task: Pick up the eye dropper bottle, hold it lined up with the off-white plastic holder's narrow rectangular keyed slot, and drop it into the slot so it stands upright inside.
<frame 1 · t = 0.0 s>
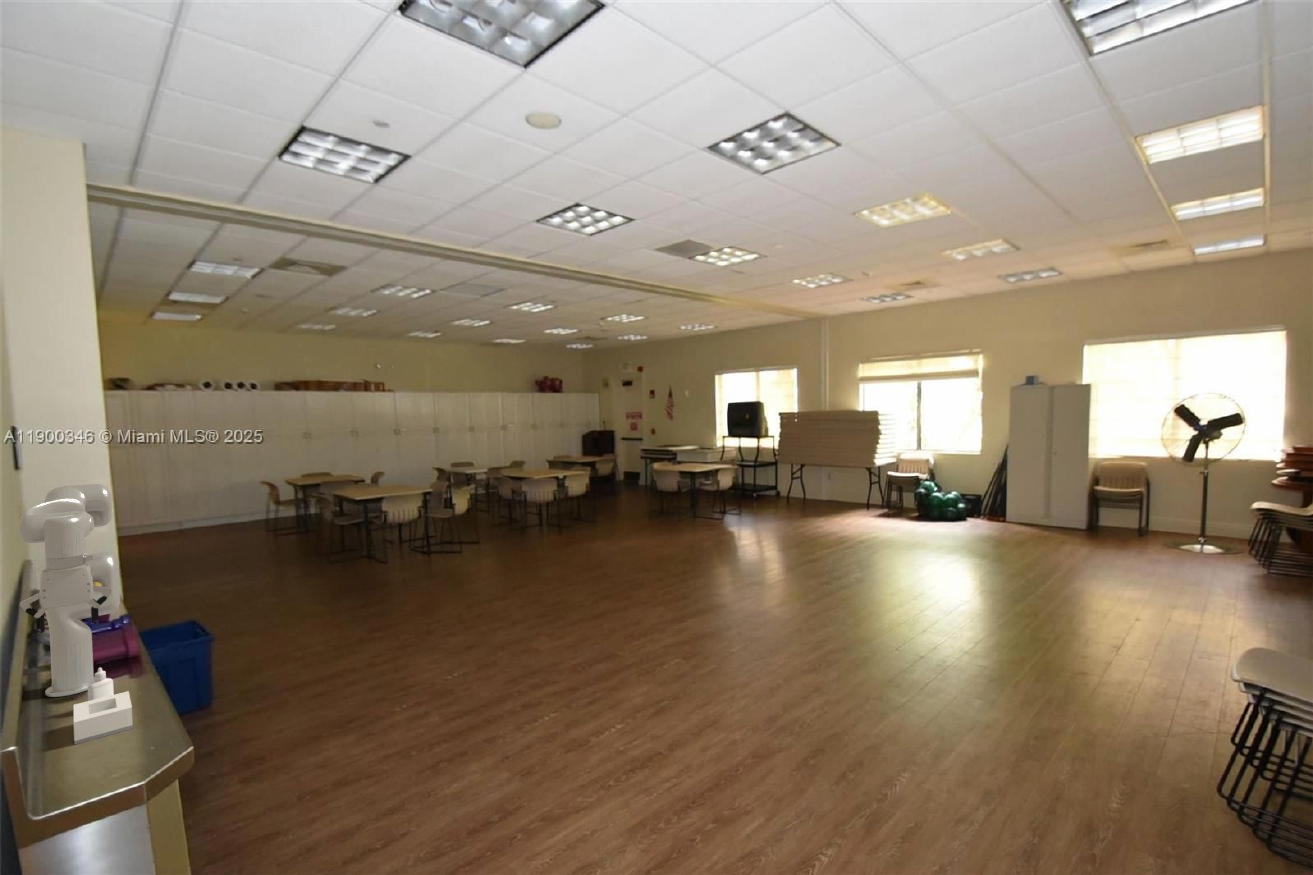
hand: (68, 626, 158), 31 cm above the counter, tool pointing down, fingers open, 9 cm apart
eye dropper bottle: (101, 708, 178), on the counter
keyed holder: (103, 727, 167), on the counter
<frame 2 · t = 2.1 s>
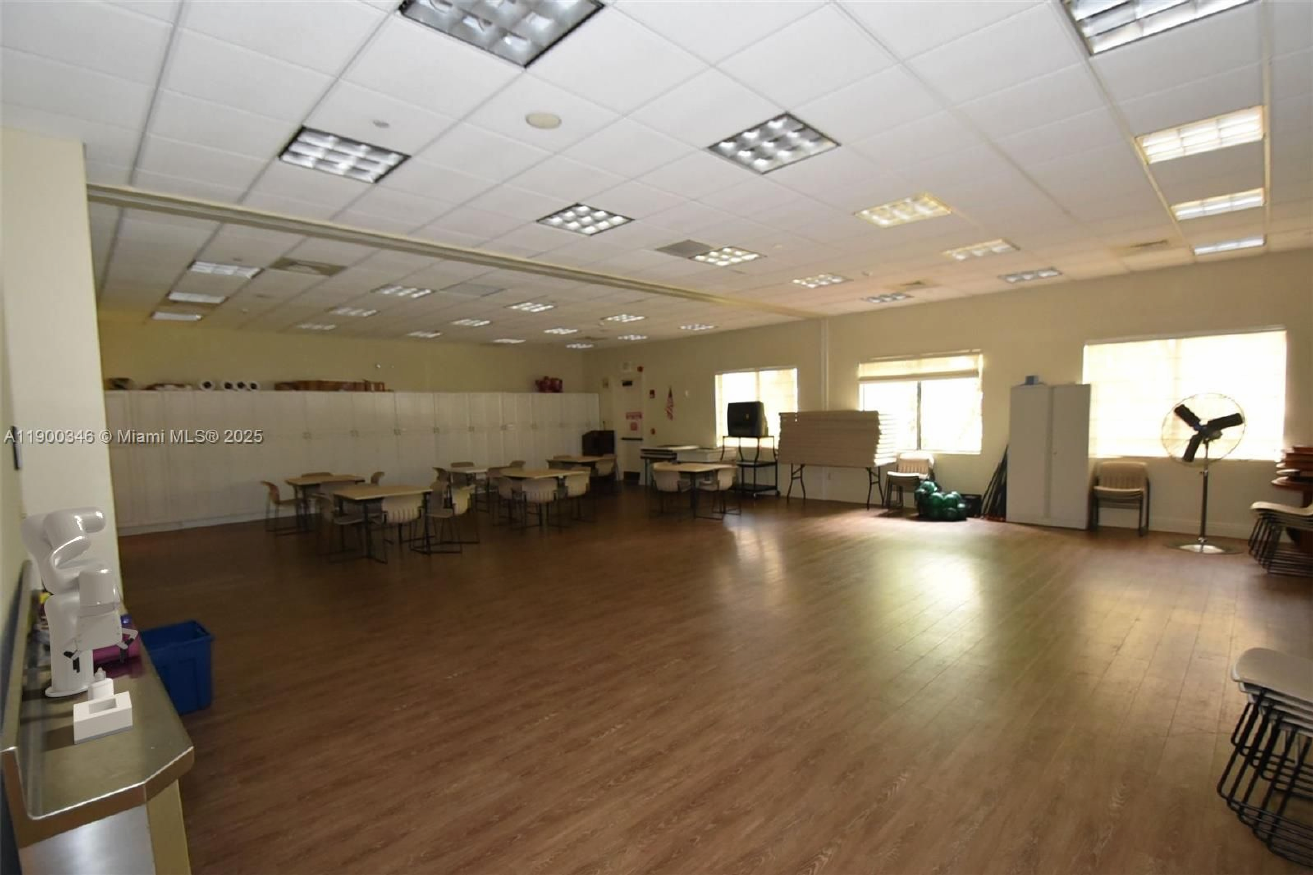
hand: (100, 666, 178), 13 cm above the counter, tool pointing down, fingers open, 9 cm apart
nothing on the counter moved.
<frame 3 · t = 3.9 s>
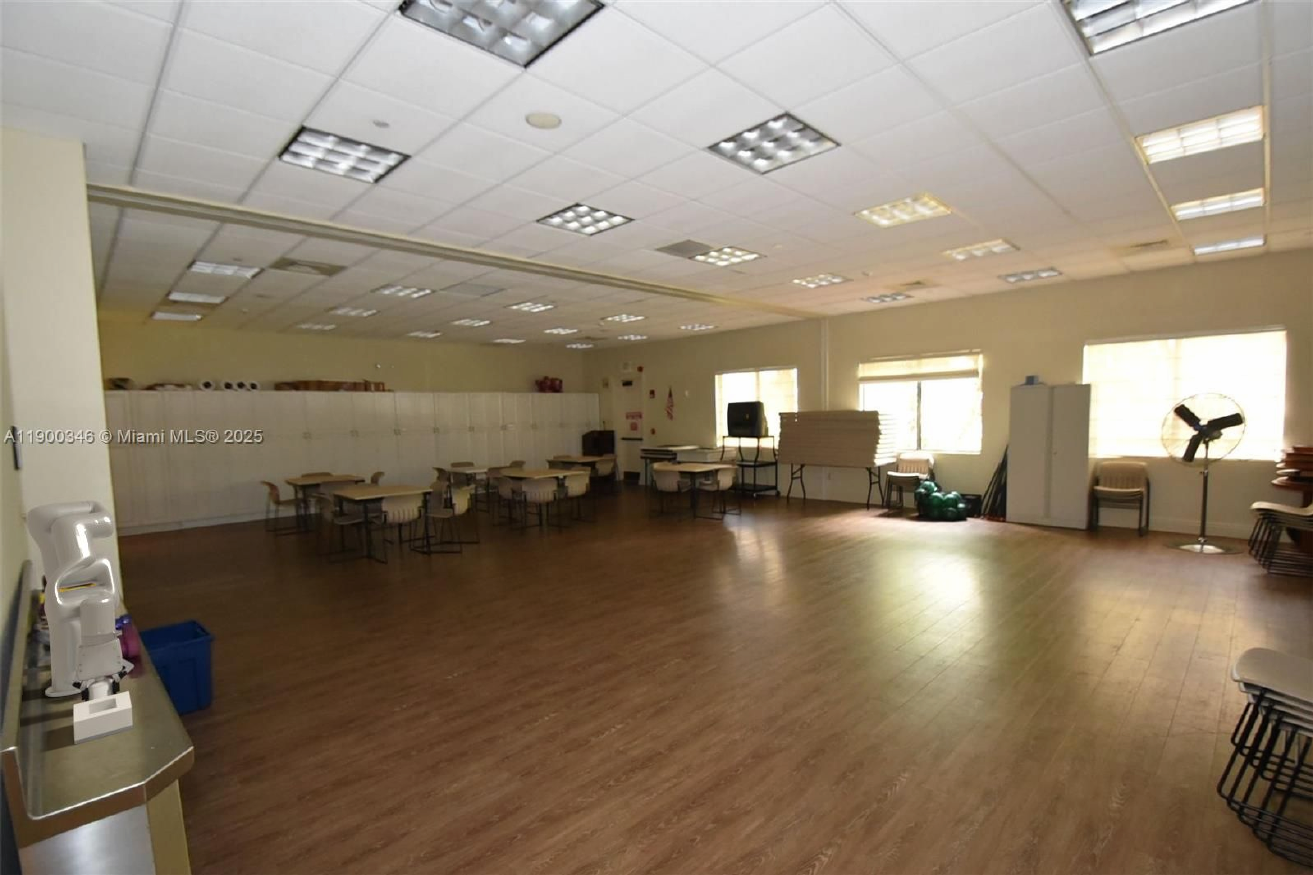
hand: (101, 697, 178), 3 cm above the counter, tool pointing down, fingers closed on eye dropper bottle, 5 cm apart
eye dropper bottle: (101, 708, 178), on the counter, touching gripper
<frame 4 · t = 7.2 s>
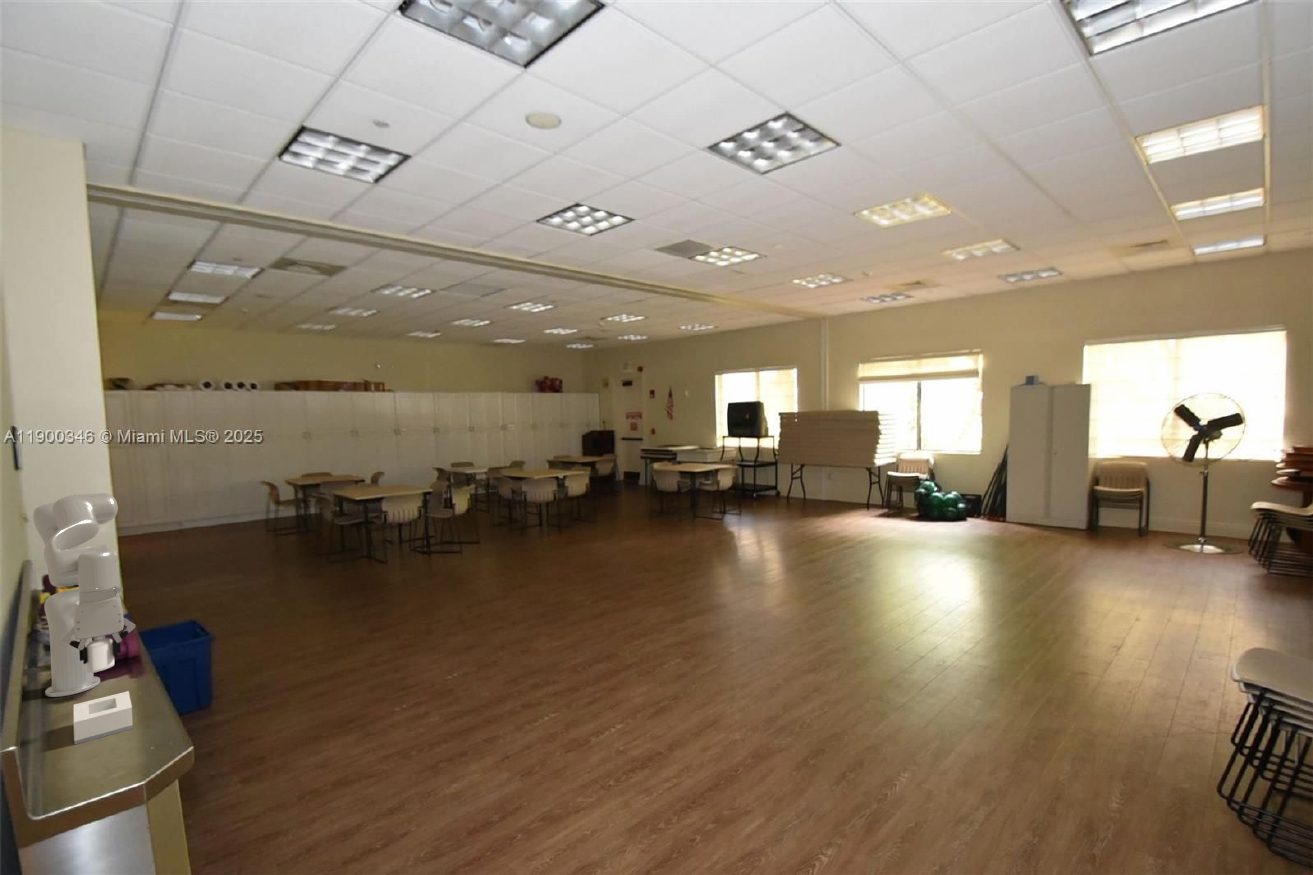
hand: (100, 658, 166), 19 cm above the counter, tool pointing down, fingers closed on eye dropper bottle, 5 cm apart
eye dropper bottle: (101, 669, 166), point 16 cm above the counter, touching gripper
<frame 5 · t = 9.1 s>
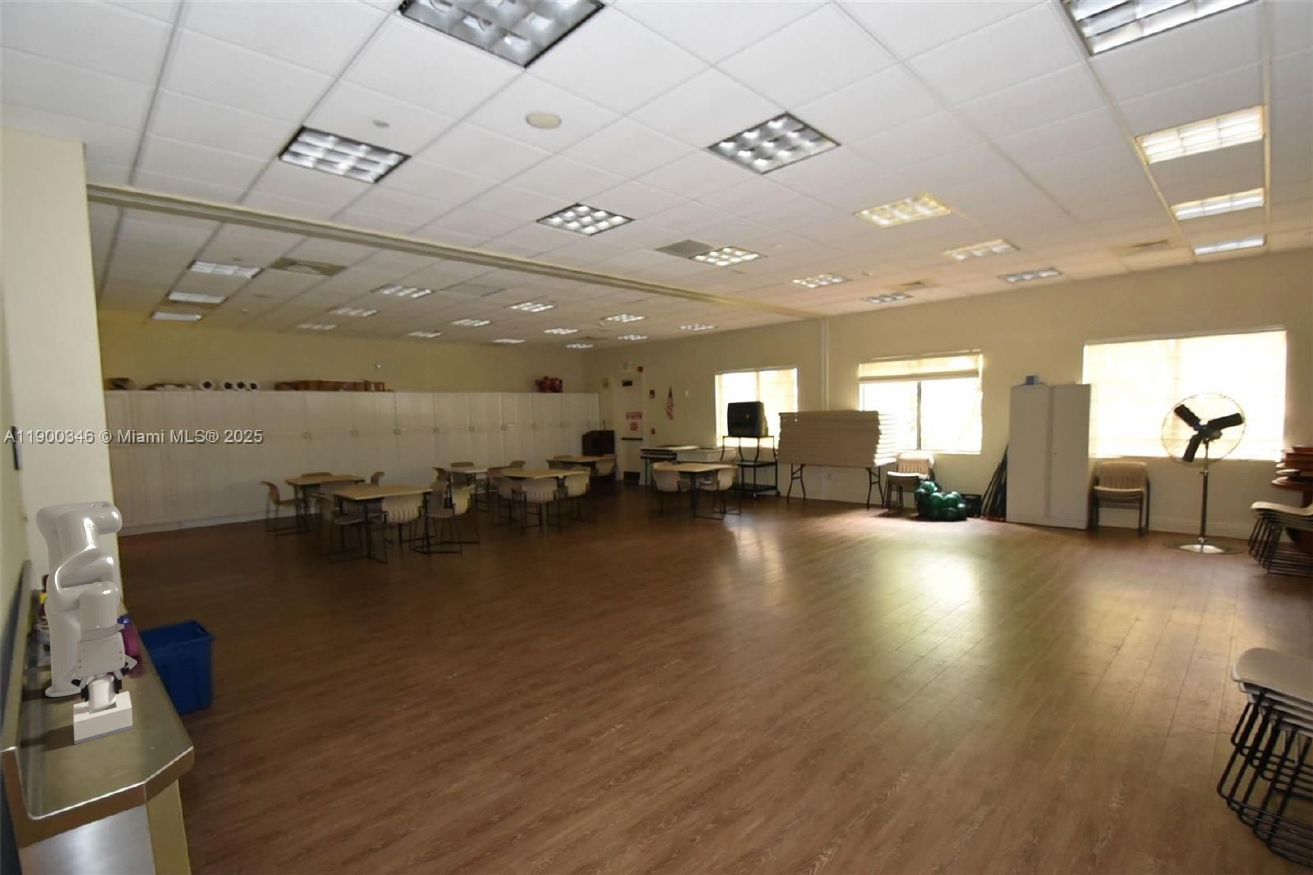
hand: (102, 695, 167), 9 cm above the counter, tool pointing down, fingers closed on eye dropper bottle, 5 cm apart
eye dropper bottle: (102, 706, 167), point 6 cm above the counter, touching gripper, keyed holder
when the fingers open (9 cm above the counter, at t = 10.5 s): eye dropper bottle stays where it is, resting on keyed holder.
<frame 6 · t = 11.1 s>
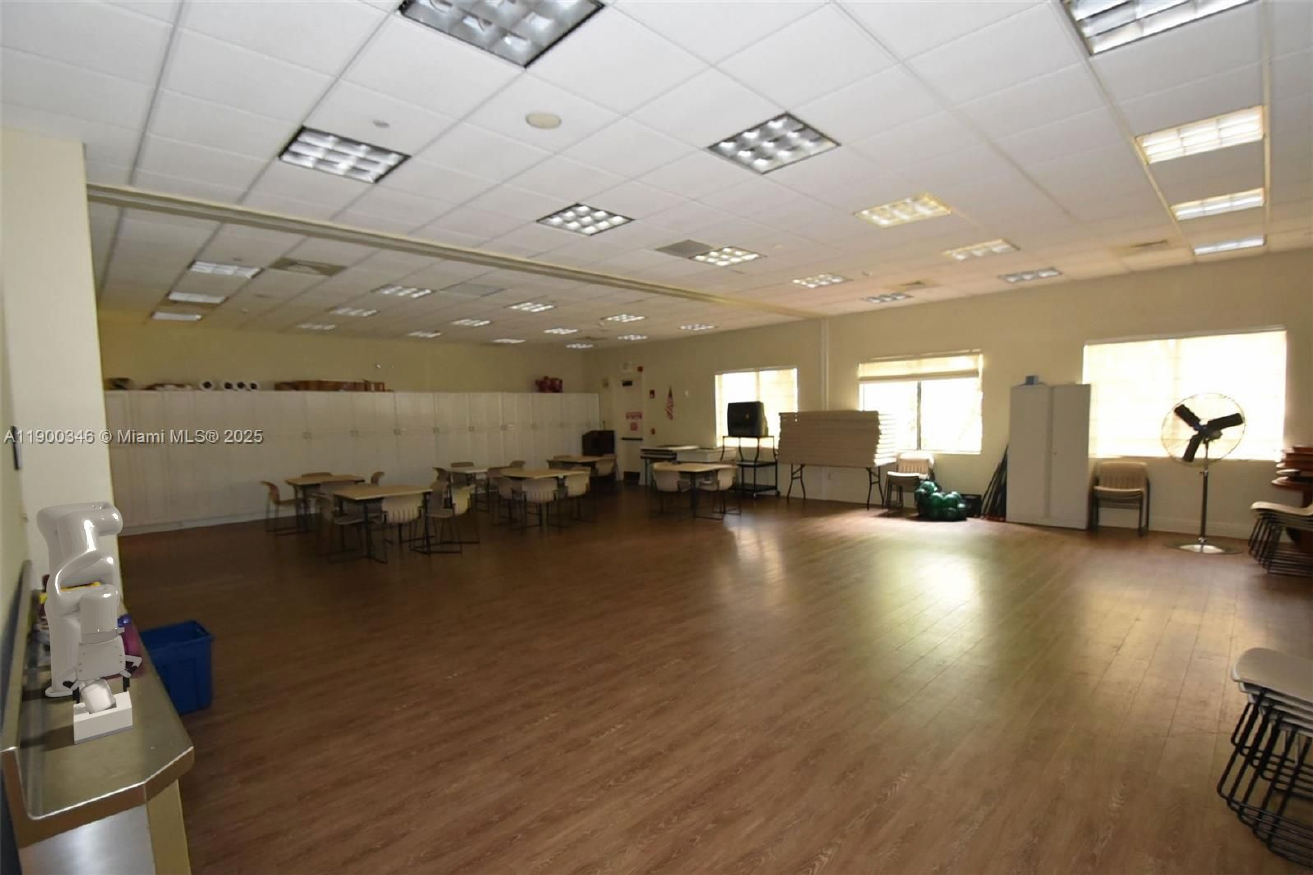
hand: (102, 696, 167), 9 cm above the counter, tool pointing down, fingers open, 9 cm apart
eye dropper bottle: (103, 709, 167), point 5 cm above the counter, touching gripper, keyed holder
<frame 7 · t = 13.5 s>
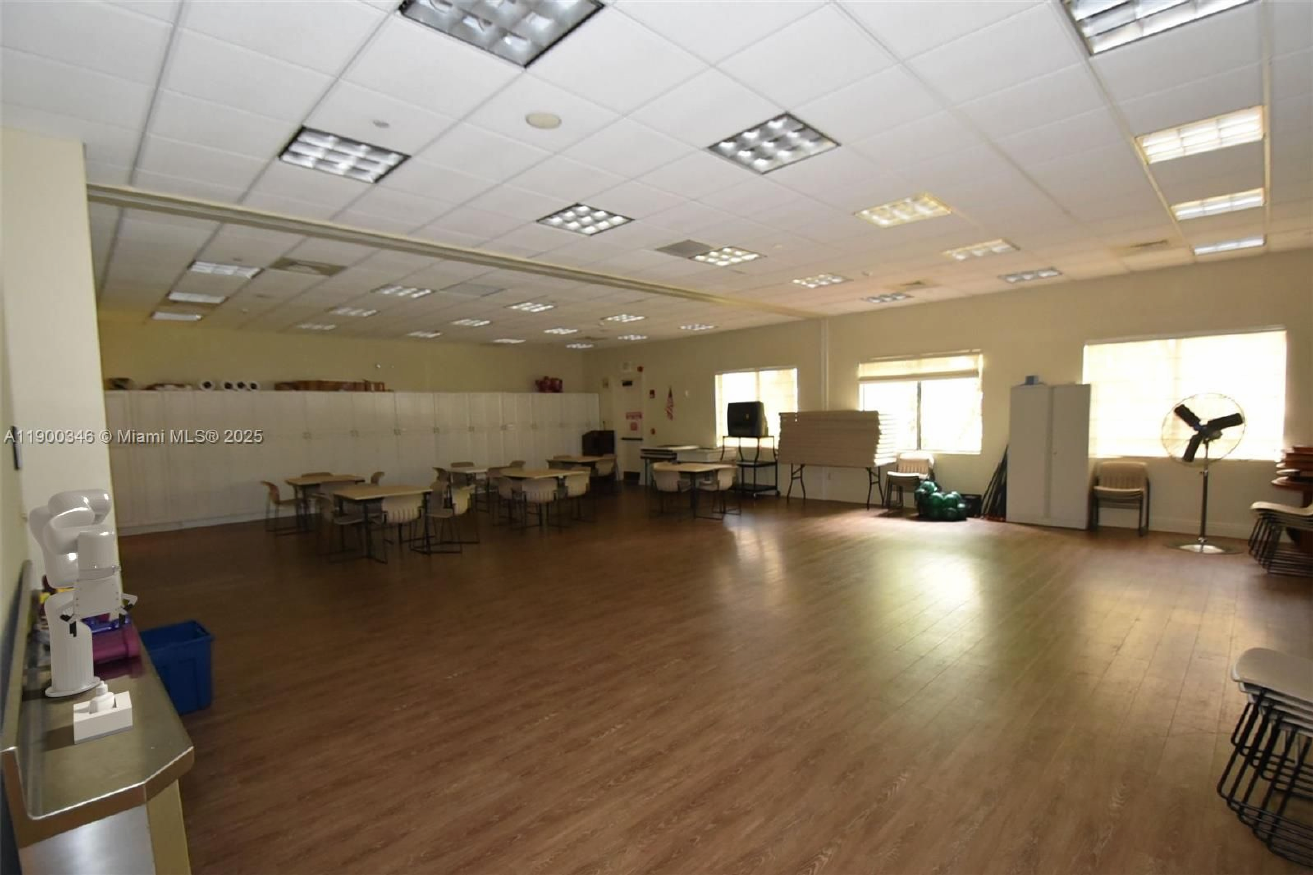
hand: (98, 631, 171), 25 cm above the counter, tool pointing down, fingers open, 9 cm apart
eye dropper bottle: (102, 724, 167), point 1 cm above the counter, touching keyed holder
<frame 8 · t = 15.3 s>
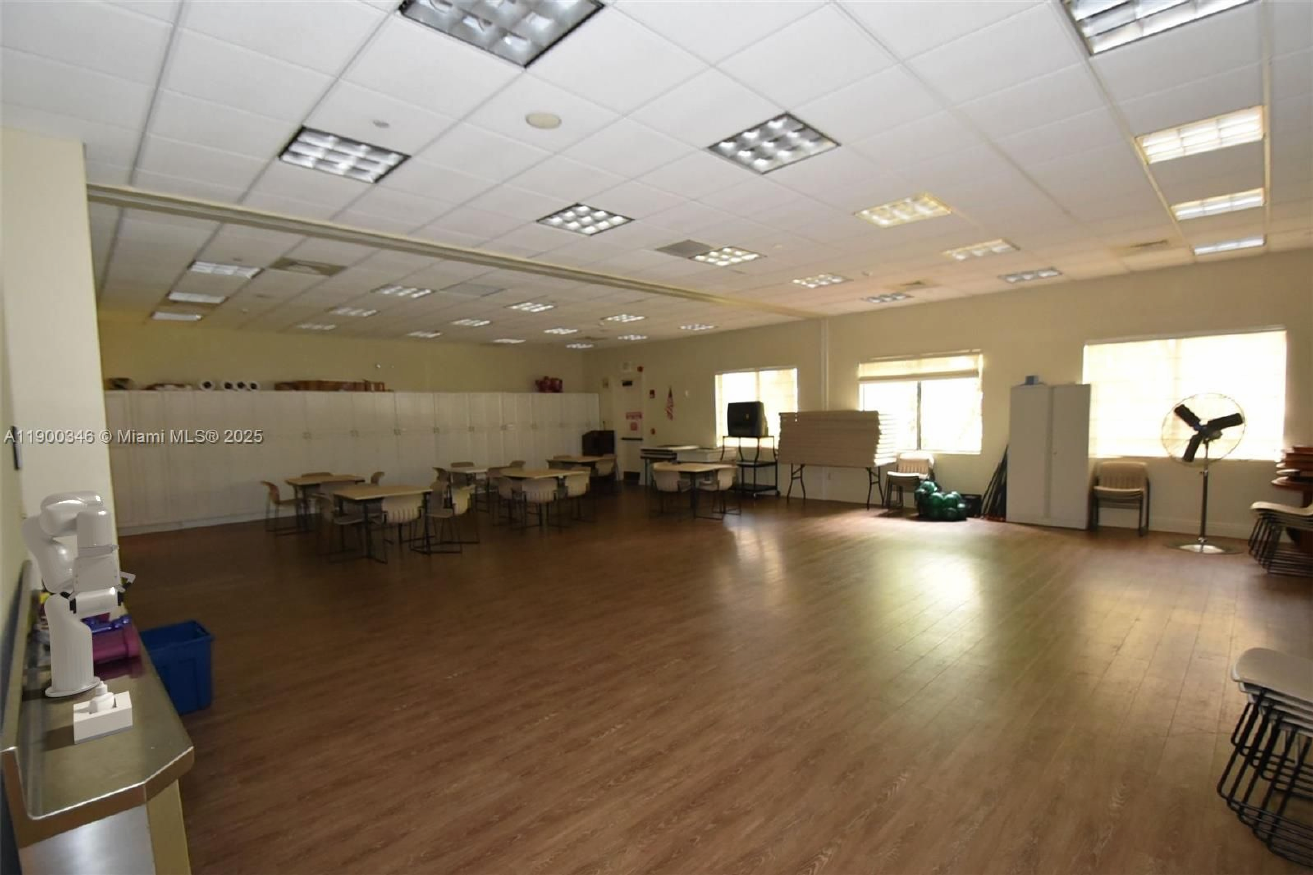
hand: (97, 608, 176), 30 cm above the counter, tool pointing down, fingers open, 9 cm apart
nothing on the counter moved.
at the end: eye dropper bottle 0.2 cm off-centre on the keyed holder, point 0.8 cm above the keyed holder's base; eye dropper bottle tilted 0°; the gripper is holding nothing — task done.
